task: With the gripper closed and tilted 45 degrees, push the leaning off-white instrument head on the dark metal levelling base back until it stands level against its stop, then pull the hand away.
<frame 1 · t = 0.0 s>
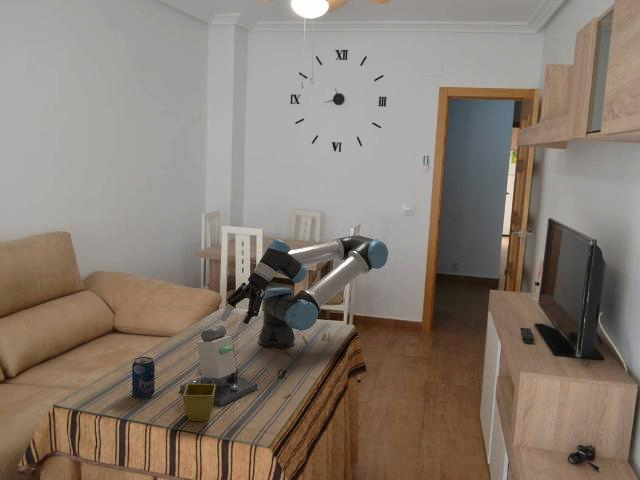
hand: (230, 325, 220), 15 cm above the table, tool tilted 35°, fingers open, 13 cm apart
levelling base: (219, 390, 200), on the table
soda can: (143, 395, 193), on the table
teacup: (220, 366, 221), on the table
flower pot: (199, 418, 180), on the table
instrument head: (218, 354, 199), point 12 cm above the table, hinge at -12.0°
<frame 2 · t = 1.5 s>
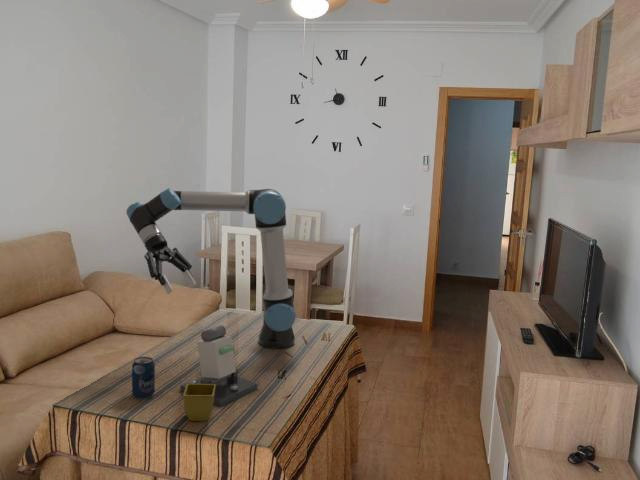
hand: (182, 289, 214), 29 cm above the table, tool tilted 45°, fingers open, 10 cm apart
nothing on the table moved.
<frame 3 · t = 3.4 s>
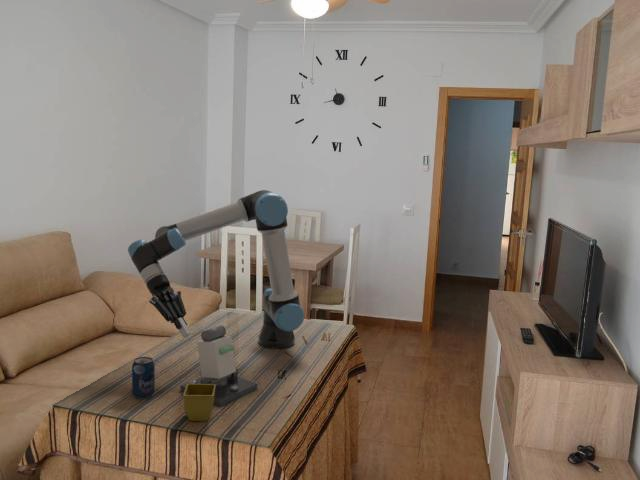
hand: (187, 335, 205), 16 cm above the table, tool tilted 45°, fingers closed
nothing on the table moved.
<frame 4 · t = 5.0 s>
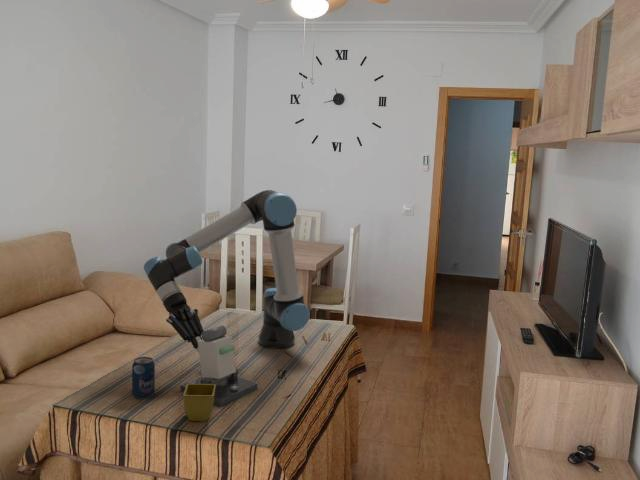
hand: (204, 354, 202), 11 cm above the table, tool tilted 45°, fingers closed
instrument head: (218, 354, 199), point 12 cm above the table, hinge at -11.1°, touching gripper
everything else where it was.
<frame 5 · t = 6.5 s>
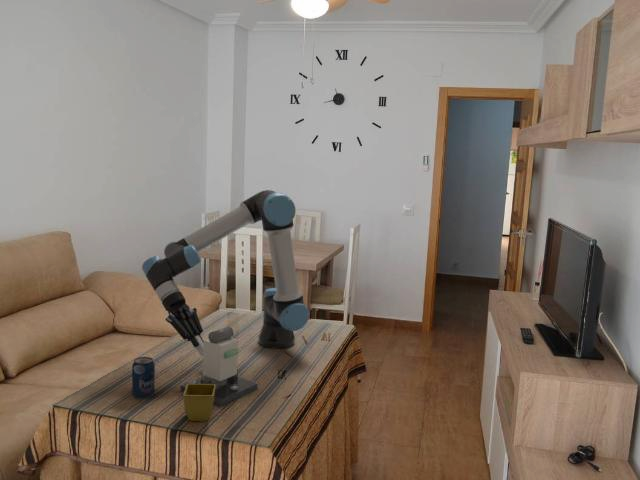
hand: (204, 353, 203), 11 cm above the table, tool tilted 45°, fingers closed
instrument head: (222, 356, 198), point 12 cm above the table, hinge at 0.4°
everything else where it was.
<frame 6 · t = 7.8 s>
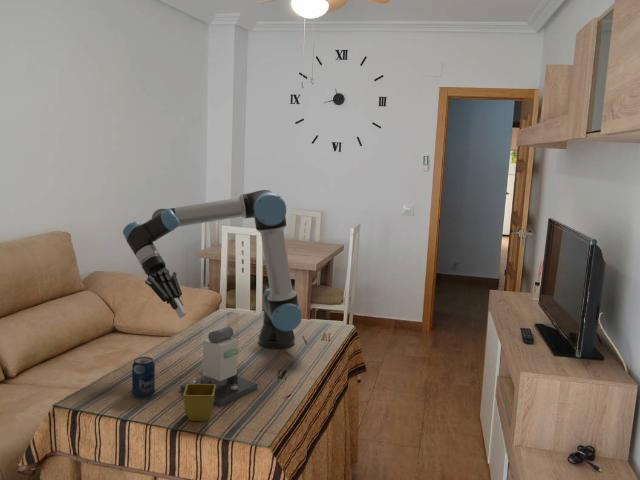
hand: (183, 315, 207), 22 cm above the table, tool tilted 45°, fingers closed
nothing on the table moved.
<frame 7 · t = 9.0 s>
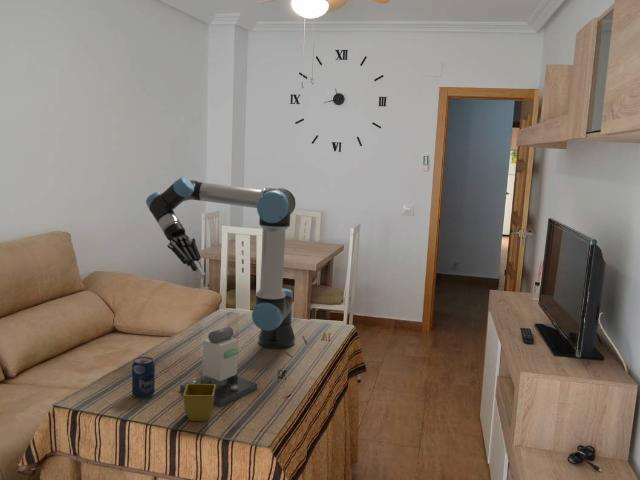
hand: (202, 276, 226), 31 cm above the table, tool tilted 45°, fingers closed
nothing on the table moved.
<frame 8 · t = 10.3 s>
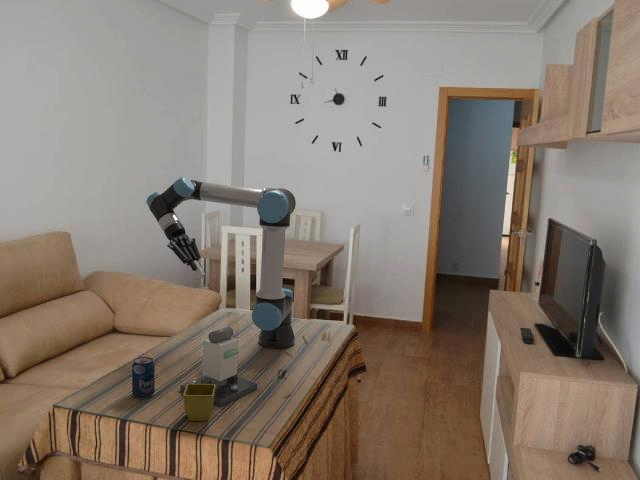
hand: (202, 276, 227), 31 cm above the table, tool tilted 45°, fingers closed
nothing on the table moved.
at the end: instrument head at +0° (first picture: -12°) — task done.
